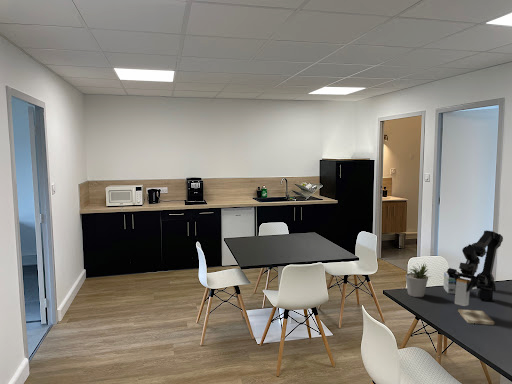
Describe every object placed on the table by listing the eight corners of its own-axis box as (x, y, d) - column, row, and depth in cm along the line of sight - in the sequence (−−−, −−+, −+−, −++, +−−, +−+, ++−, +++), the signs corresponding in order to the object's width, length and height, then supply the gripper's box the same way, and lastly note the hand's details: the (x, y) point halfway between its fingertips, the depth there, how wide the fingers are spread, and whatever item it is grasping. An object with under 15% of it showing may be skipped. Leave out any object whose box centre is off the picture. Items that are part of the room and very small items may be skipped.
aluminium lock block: (458, 302, 207) (460, 278, 207) (468, 304, 203) (470, 280, 203) (454, 303, 204) (456, 278, 203) (464, 306, 200) (466, 281, 200)
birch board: (482, 313, 205) (482, 310, 205) (494, 324, 192) (494, 321, 191) (458, 312, 207) (458, 309, 207) (468, 323, 193) (468, 320, 193)
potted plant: (419, 300, 223) (421, 266, 221) (400, 293, 235) (401, 261, 233) (433, 297, 230) (435, 263, 228) (413, 290, 241) (415, 258, 240)
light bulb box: (459, 294, 235) (460, 276, 234) (447, 293, 236) (448, 276, 235) (454, 288, 245) (455, 271, 244) (442, 287, 246) (443, 271, 245)
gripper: (449, 253, 211) (439, 277, 205) (487, 260, 197) (477, 286, 191) (454, 264, 217) (445, 288, 211) (491, 272, 203) (482, 298, 197)
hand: (461, 290), depth 202 cm, fingers closed on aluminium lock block, 5 cm apart
